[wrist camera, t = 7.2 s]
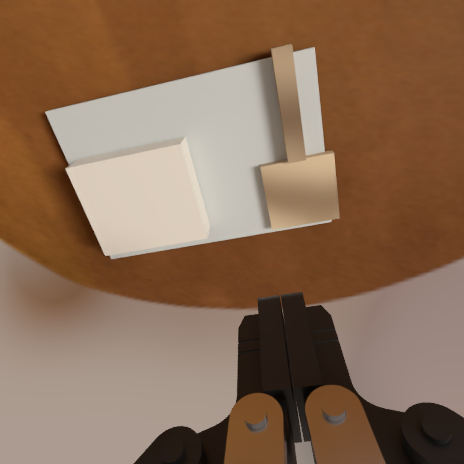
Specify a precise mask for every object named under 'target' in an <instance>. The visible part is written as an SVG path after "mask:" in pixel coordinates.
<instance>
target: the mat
mask: <svg viewBox="0 0 464 464" xmlns="http://www.w3.org/2000/svg"><path fill="white" fill-rule="evenodd" d="M293 57H294V65H295V73H296V81H297V89H298V97H299V105H300V113H301V121H302V129H303V137H304V146H305V154H306V155H311V154H316V153H321V152H325V149H324V139H323V128H322V118H321V108H320V98H319V87H318V77H317V67H316V57H315V47H311V48H307V49H303V50H299V51H295V52H293ZM45 113H46V115H47V118H48V120H49V122H50V124H51V126H52V129H53V131H54V133H55V135H56V137H57V140H58V142H59V144H60V146H61V149H62V151H63V153H64V155H65V157H66V160H67V162H68V164H69V165H71V164H72V163H74V162H75V161H77V160H78V159H83V158H87V157H92V156H97V155H101V154H106V153H110V152H115V151H120V150H124V149H129V148H134V147H138V146H143V145H148V144H152V143H157V142H161V141H166V140H171V139H175V138H180V137H186V140H187V144H188V148H189V151H190V155H191V158H192V162H193V165H194V169H195V173H196V176H197V180H198V183H199V187H200V190H201V194H202V198H203V201H204V205H205V208H206V212H207V215H208V219H209V223H210V230H209V235H208V239H202V240H196V241H190V242H185V243H179V244H173V245H167V246H161V247H155V248H150V249H144V250H138V251H132V252H126V253H120V254H115V255H110V257H111V259H115V258H121V257H127V256H133V255H139V254H145V253H151V252H157V251H162V250H168V249H174V248H180V247H186V246H192V245H198V244H204V243H210V242H216V241H221V240H227V239H233V238H239V237H245V236H251V235H257V234H263V233H269V232H274V231H280V230H286V229H292V228H298V227H304V226H310V225H316V224H322V223H328V222H332V221H331V220H327V221H321V222H315V223H310V224H304V225H298V226H292V227H286V228H280V229H274V230H272V227H271V222H270V216H269V211H268V206H267V200H266V195H265V190H264V184H263V179H262V174H261V168H260V164H265V163H270V162H275V161H280V160H285V159H287V156H286V149H285V143H284V136H283V129H282V123H281V116H280V109H279V103H278V96H277V89H276V83H275V76H274V69H273V63H272V57H270V58H265V59H261V60H257V61H253V62H249V63H245V64H240V65H236V66H232V67H228V68H224V69H220V70H216V71H211V72H207V73H203V74H199V75H195V76H191V77H186V78H182V79H178V80H174V81H170V82H166V83H161V84H157V85H153V86H149V87H145V88H141V89H136V90H132V91H128V92H124V93H120V94H116V95H111V96H107V97H103V98H99V99H95V100H91V101H86V102H82V103H78V104H74V105H70V106H66V107H61V108H57V109H53V110H49V111H46V112H45Z"/></svg>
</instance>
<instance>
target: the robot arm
mask: <svg viewBox="0 0 464 464" xmlns="http://www.w3.org/2000/svg"><path fill="white" fill-rule="evenodd" d="M281 300H282V307H283V313H282V307H281V302H280V297H279V295H278V296H271V297H264V298H258V311H259V314H255V315H248V316H245V317H244V319H243V320H242V323H241V324H240V326H239V331H238V333H239V334H238V342H239V344H238V379H237V380H238V381H237V400H236V404H235V405H234V407H233V408H232V410H231V413H230V414H229V415H228V417H227V418H226V419H224V420H223V421H222V422H221V423H219V424H217V425H216V426H213V427H211V428H209V429H207V430H204V431H202V432H200V433H198V434H197V433H196V432H195V431H193V430H192V429H191V428H188V427H184V426H177V427H173V428H170V429H168V430H166V431H165V432H163V433H162V434H160V435H159V436H158V437H157V438H156V439H155V440H154V442H153V443H152V444H151V445H150V446H149V447H148V448H147V449H146V451H145V452H144V453H143V454H142V455H141V456H140V457H139V458H138V459H137V461H136V462H135V463H134V464H297V461H296V453H295V445H294V443H297V442H302V439H301V432H300V425H299V418H298V412H299V417H300V422H301V427H302V432H303V437H304V442H305V441H311V446H312V451H313V456H314V462H315V464H464V418H463V417H462V416H460V415H458V414H457V413H455V412H454V411H452V410H450V409H448V408H447V407H444V406H442V405H439V404H435V403H419V404H415V405H413V406H411V407H409V408H408V409H407V410H406V412H400V411H394V410H389V409H385V408H381V407H378V406H375V405H373V404H371V403H369V402H367V401H366V400H364V399H363V398H362V397H361V396H360V395H359V394H358V393H357V392H356V390H355V389H354V387H353V385H352V382H351V379H350V376H349V373H348V369H347V366H346V363H345V360H344V357H343V353H342V350H341V346H340V343H339V341H338V337H337V334H336V331H335V327H334V324H333V320H332V317H331V315H330V314H329V313H328V312H327V311H326V310H325V309H324V308H323V307H322V306H321V305H318V306H311V307H306V306H305V302H304V298H303V293H302V292H297V293H291V294H284V295H281ZM283 314H284V318H283ZM284 322H285V323H284ZM296 402H297V403H296ZM297 407H298V411H297Z"/></svg>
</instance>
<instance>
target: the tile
mask: <svg viewBox="0 0 464 464" xmlns="http://www.w3.org/2000/svg"><path fill="white" fill-rule="evenodd" d="M65 169H66V171H67V174H68V176H69V178H70V180H71V182H72V185H73V187H74V189H75V191H76V193H77V196H78V198H79V200H80V202H81V204H82V206H83V209H84V211H85V213H86V215H87V217H88V220H89V222H90V224H91V226H92V228H93V230H94V233H95V235H96V237H97V239H98V241H99V244H100V246H101V248H102V250H103V252H104V254H105V256H109V255H115V254H120V253H126V252H132V251H138V250H144V249H150V248H155V247H161V246H167V245H173V244H179V243H185V242H190V241H196V240H202V239H208V235H209V230H210V223H209V219H208V215H207V212H206V208H205V205H204V201H203V198H202V194H201V190H200V187H199V183H198V180H197V176H196V173H195V169H194V165H193V162H192V158H191V155H190V151H189V148H188V144H187V140H186V137H180V138H175V139H171V140H166V141H161V142H157V143H152V144H148V145H143V146H138V147H134V148H129V149H124V150H120V151H115V152H110V153H106V154H101V155H97V156H92V157H87V158H83V159H78V160H77V161H75V162H74V163H72V164H71V165H69V166H68V167H67V168H65Z"/></svg>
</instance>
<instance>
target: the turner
mask: <svg viewBox="0 0 464 464" xmlns="http://www.w3.org/2000/svg"><path fill="white" fill-rule="evenodd" d="M271 56H272V63H273V69H274V76H275V83H276V89H277V96H278V103H279V109H280V116H281V123H282V129H283V136H284V143H285V149H286V156H287V159H285V160H280V161H275V162H270V163H265V164H260V168H261V174H262V179H263V184H264V190H265V195H266V200H267V206H268V211H269V216H270V222H271V227H272V230H274V229H280V228H286V227H292V226H298V225H304V224H310V223H315V222H321V221H327V220H333V219H339V206H338V194H337V182H336V170H335V159H334V152H333V151H332V150H331V151H326V152H321V153H316V154H311V155H306V154H305V146H304V137H303V129H302V121H301V113H300V105H299V97H298V89H297V81H296V73H295V65H294V57H293V48H292V44H287V45H283V46H279V47H275V48H271Z"/></svg>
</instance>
